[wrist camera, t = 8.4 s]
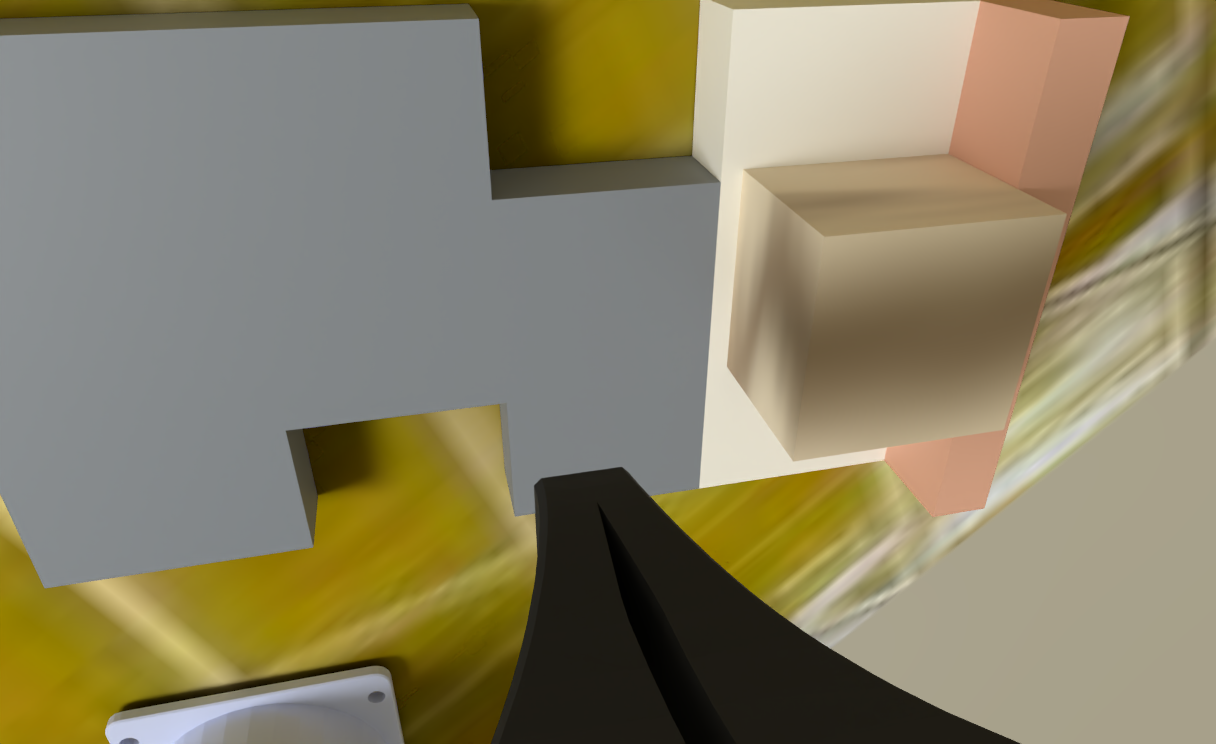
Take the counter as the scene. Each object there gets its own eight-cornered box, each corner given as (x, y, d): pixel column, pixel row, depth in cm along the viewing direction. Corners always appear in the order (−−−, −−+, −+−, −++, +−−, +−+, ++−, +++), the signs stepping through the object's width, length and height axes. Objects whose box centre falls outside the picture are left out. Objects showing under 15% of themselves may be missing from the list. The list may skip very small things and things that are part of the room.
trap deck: (896, 414, 26) (984, 508, 22) (70, 531, 21) (5, 673, 18) (986, -14, 20) (1129, 16, 16) (-148, 23, 15) (-319, 76, 11)
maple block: (908, 344, 22) (1004, 430, 19) (726, 366, 21) (793, 461, 18) (948, 153, 19) (1067, 213, 16) (742, 169, 18) (824, 236, 15)
